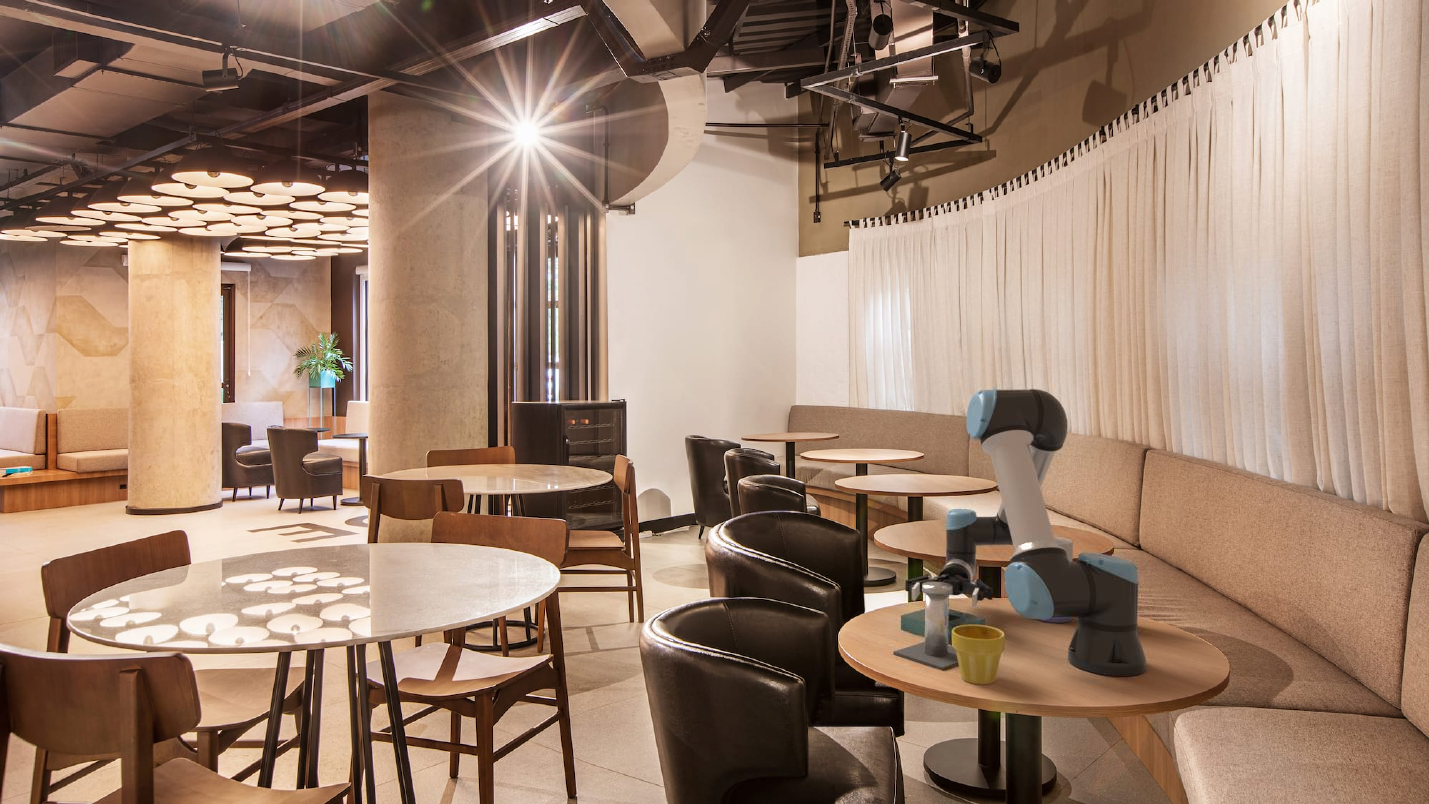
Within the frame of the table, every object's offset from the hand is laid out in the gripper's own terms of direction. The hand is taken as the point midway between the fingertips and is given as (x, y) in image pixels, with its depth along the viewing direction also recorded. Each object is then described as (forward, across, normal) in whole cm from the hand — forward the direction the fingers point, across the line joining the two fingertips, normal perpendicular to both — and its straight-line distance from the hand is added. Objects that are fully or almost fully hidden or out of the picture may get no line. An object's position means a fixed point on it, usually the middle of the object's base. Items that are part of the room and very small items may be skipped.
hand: (943, 597), depth 196 cm
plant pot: (+21, -10, -11) cm, 26 cm away
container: (-31, -22, -11) cm, 40 cm away
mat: (+10, 0, -10) cm, 14 cm away
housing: (-9, +1, -10) cm, 14 cm away
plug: (+10, 0, -10) cm, 14 cm away
